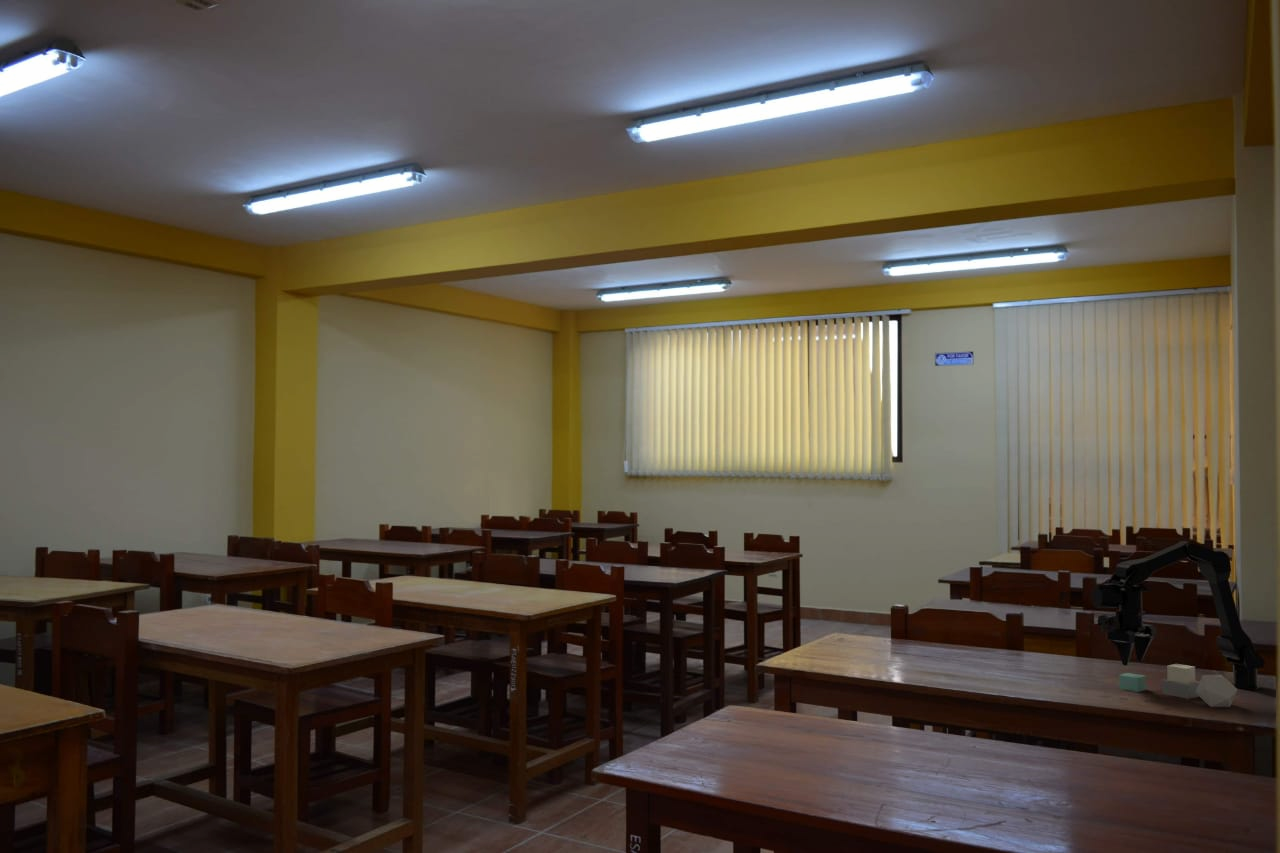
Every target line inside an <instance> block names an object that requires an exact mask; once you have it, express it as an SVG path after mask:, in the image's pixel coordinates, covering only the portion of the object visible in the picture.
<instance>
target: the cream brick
mask: <svg viewBox="0 0 1280 853" xmlns="http://www.w3.org/2000/svg"><path fill="white" fill-rule="evenodd" d="M1166 672H1167V673H1166V674H1167V679H1168V681H1174V682H1180V683H1186V684H1188V683H1191V682H1195V681H1196V666H1194V665H1193V666H1191V665H1187V664H1179V663H1174V664H1169V665H1167V667H1166Z"/></svg>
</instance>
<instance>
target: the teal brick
mask: <svg viewBox="0 0 1280 853" xmlns="http://www.w3.org/2000/svg"><path fill="white" fill-rule="evenodd" d="M1118 679H1119V680H1118V681H1119V684H1118V686H1119V690H1121V691H1122V690H1124V691H1128V692H1134V693H1139V692H1143V691H1146V688H1147V687H1146V684H1147V683H1146V682H1147V681H1146V675H1143V674H1138V673H1137V674H1136V673H1132V672H1131V673H1130V672H1125V673H1122V674H1119V675H1118Z"/></svg>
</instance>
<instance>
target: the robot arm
mask: <svg viewBox="0 0 1280 853" xmlns="http://www.w3.org/2000/svg"><path fill="white" fill-rule="evenodd" d="M1184 559H1188V560H1190V561H1192V562H1194V563H1196V566H1197V567H1198V570H1199V572H1200V574H1201V575H1202V576H1203V577H1204V578H1205V579H1206V581H1208V584H1209V587H1210V591H1211V596H1212V598H1213V602H1214V606H1215V609H1216V613H1217V616H1218V621H1219V623H1220V627H1221V632H1220V635H1219V636H1215V640H1216V643H1217V646H1218V647H1217V650H1218V651H1219V652H1221V654H1222V655H1223V656H1224V658H1225V661H1226V663H1229V664H1232V671H1233V672H1232V673H1233V674H1232V675H1233V676H1232V677H1233V679H1232V680H1233V682H1231V684H1232V685H1233V686H1234V687H1235V688H1237V689H1239V688H1240V689H1244V690H1251V691H1257V690H1259V689H1261V688H1263V685H1261V684H1258V670H1259V669H1263V668H1264V667H1265V664H1266V660H1265V659H1264V658H1263V657H1262V656H1261V655H1260V654H1259V653H1258V652H1257V651H1256V646H1254V642H1253V641H1252V639H1251V637H1250V636H1249V635H1248V634H1247V633H1246V632H1245V630H1244V629H1243V626H1242V625H1241V620H1240V616H1239V613H1238V609H1237V606H1236V602H1235V600H1234V595H1233V592H1232V589H1231V584H1230V581H1229V580H1230V579H1229V578H1230V575H1231V572H1232V565H1231V559H1230V556H1229V555H1228V553H1226V552H1224V551H1222V550H1215V549H1214V550H1213V549H1210V548H1208V547H1204V546H1201V545H1198V544H1197V543H1194V542H1192V541H1183V540H1181V541H1179V542H1177V543H1175V544H1173V545H1170V546H1168V547H1166V548H1164V549H1161V550H1159V551H1158V552H1157V551H1156V552H1155V553H1152V554H1150V555H1148V556H1146V557H1143V558H1138V559H1130V560H1126V561H1122V562H1119V563H1118V564H1117V565H1116V566H1115V570H1114V572H1113V574H1112V575H1111V576H1110V578H1109V579H1108V580H1107V582H1106V583H1100V582H1098V583H1096V582H1095V584H1094V588H1092V590H1091V593H1090V601H1091V603H1092V605H1093V607H1094V608H1096V609H1099V608H1100V609H1101V608H1103V609H1105V608H1106V609H1108V608H1109V609H1111V608H1113V609H1115V608H1119V610H1116V611H1115V615H1113V616H1108V615H1107V614H1102V615H1098V617H1097V620H1096V622H1097V623H1096V625H1097V626H1098V627H1100V629H1101V631H1102V632H1103V631H1106V630H1107V631H1106V632H1105V636H1106V637H1105V640H1108V642H1110V643H1112V644H1113V645H1114V646H1115V647H1116V650H1117V652H1118V654H1119V659H1120V660H1121V664H1122V665H1123V666H1128V664H1129V662H1130V659H1131V655H1132V652H1133V650H1134V649H1135V655H1136V661H1137V662H1142V661H1143V659H1144V657H1145V656H1146V654H1147V651H1148V650H1149V647H1150V645H1151V643H1152V641H1153V640H1154V639H1155V636H1157V627H1155V626H1154V624H1147V623H1143V622H1144V620H1143V616H1146V611H1145V610H1144V611H1143V592H1144V593H1145V592H1147V593H1148V592H1150V588H1148V587H1147V586H1146V584H1144V583H1143V582H1144V581H1146V580H1148V579H1150V577H1151V576H1152V575H1153V573H1155V572H1157V571H1158V570H1161V569H1164V568H1166V567H1168V566H1170V565H1172V564H1174V563H1177V562H1180V561H1182V560H1184Z"/></svg>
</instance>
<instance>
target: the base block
mask: <svg viewBox="0 0 1280 853" xmlns="http://www.w3.org/2000/svg"><path fill="white" fill-rule="evenodd" d="M1161 683H1162V685H1161V686H1162V694H1163V693H1164V694H1163V695H1168V694H1169V695H1168V696H1174V697H1177V698H1182V699H1187V700H1188V699H1189V700H1190V699H1194V698H1199V697H1200V696H1199V695H1198V694H1197V693H1196V690H1197V687H1198V685H1199V683H1200V681H1198V680H1195V682H1191V683H1188V684H1186V683H1180V682H1174V681H1168V678H1165V679H1162V682H1161ZM1200 698H1201V697H1200Z"/></svg>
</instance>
